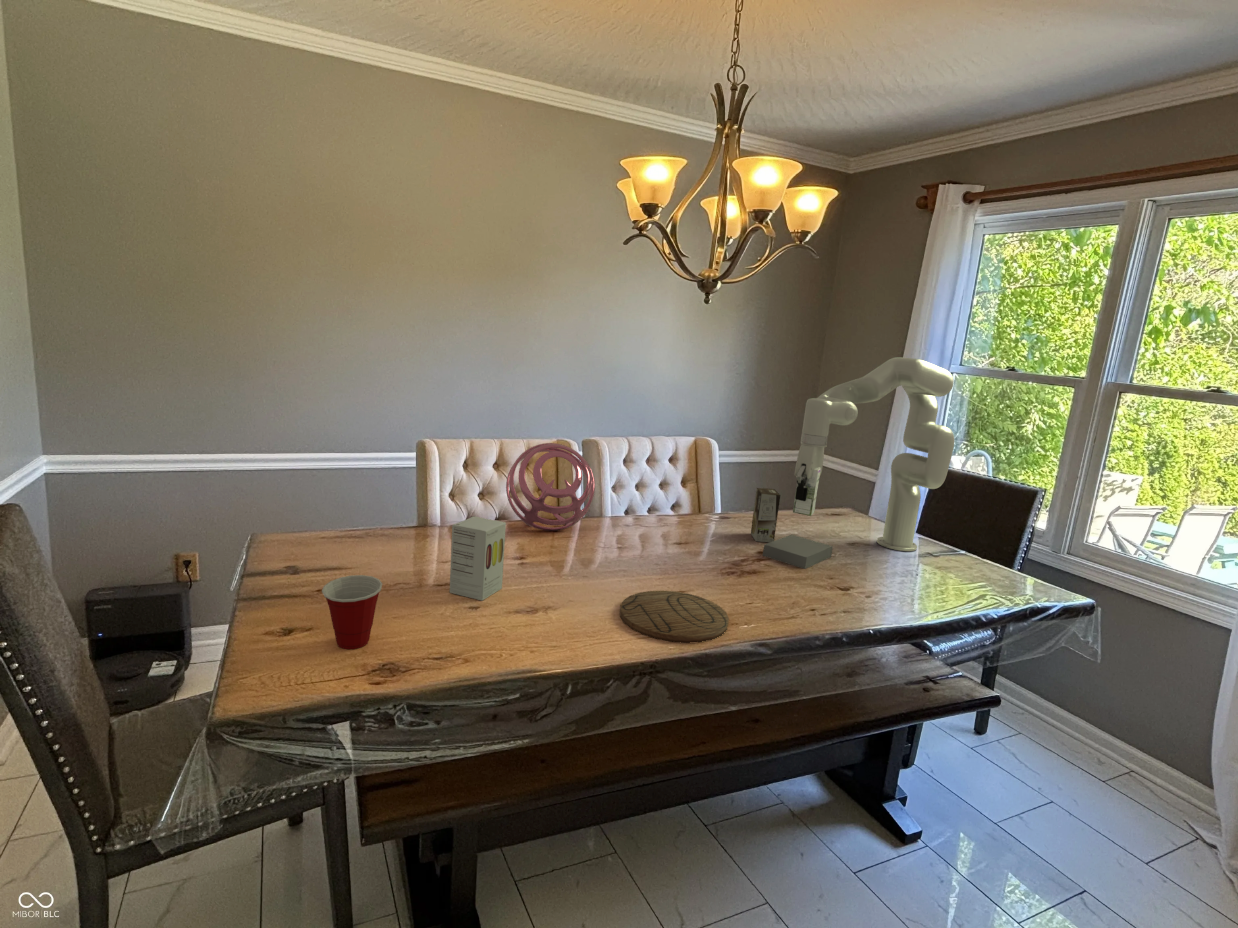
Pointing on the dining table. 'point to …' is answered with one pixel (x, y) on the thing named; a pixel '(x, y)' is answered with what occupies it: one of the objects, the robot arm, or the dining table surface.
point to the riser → (797, 551)
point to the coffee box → (765, 514)
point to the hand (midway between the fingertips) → (805, 497)
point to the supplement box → (477, 557)
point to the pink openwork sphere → (547, 489)
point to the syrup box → (808, 496)
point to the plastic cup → (352, 608)
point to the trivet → (674, 616)
